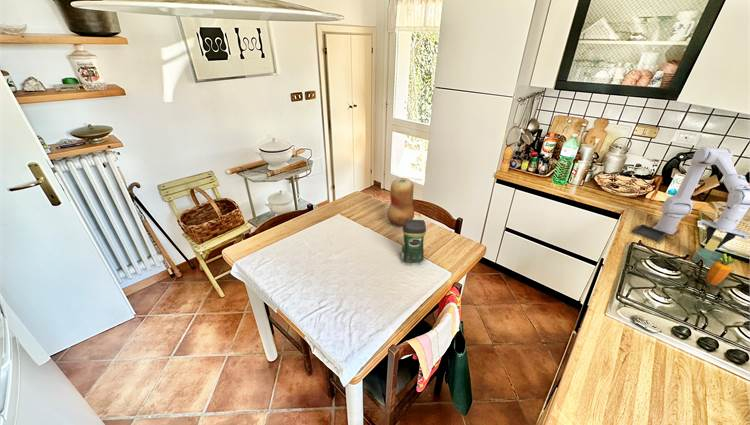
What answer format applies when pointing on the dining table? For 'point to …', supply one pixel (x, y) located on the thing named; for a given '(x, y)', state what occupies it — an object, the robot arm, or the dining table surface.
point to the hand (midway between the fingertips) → (712, 245)
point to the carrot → (719, 270)
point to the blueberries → (643, 320)
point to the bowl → (707, 257)
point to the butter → (713, 243)
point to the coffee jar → (413, 241)
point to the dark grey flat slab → (649, 232)
